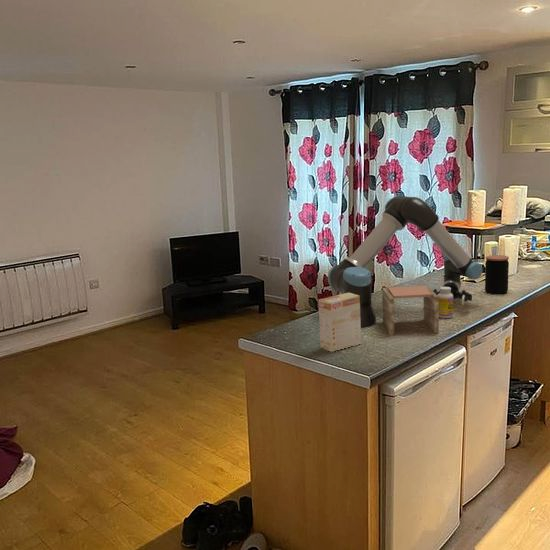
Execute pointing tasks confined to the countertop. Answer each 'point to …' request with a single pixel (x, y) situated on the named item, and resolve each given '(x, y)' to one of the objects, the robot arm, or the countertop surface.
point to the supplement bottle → (445, 302)
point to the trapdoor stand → (429, 311)
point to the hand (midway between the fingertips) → (446, 301)
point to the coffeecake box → (340, 321)
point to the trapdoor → (409, 292)
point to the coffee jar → (496, 274)
